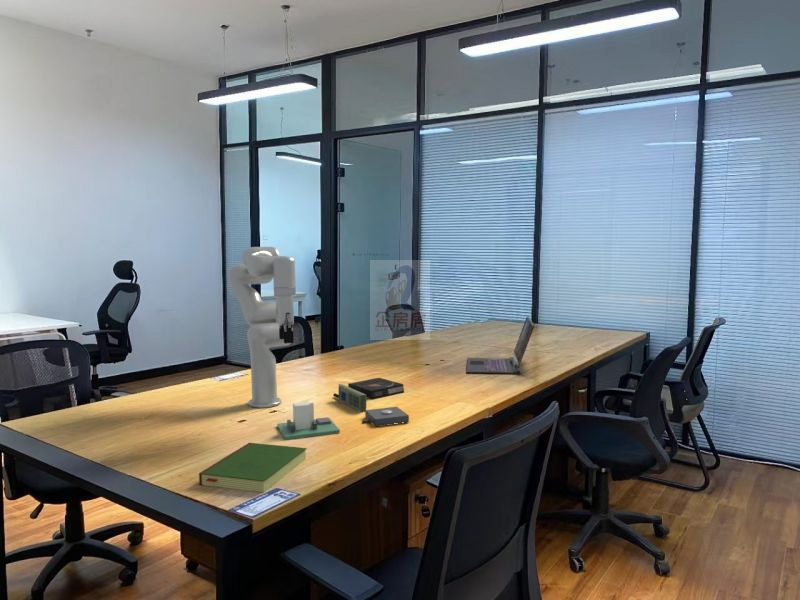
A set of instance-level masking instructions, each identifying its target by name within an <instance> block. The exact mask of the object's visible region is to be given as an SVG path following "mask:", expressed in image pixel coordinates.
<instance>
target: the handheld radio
mask: <svg viewBox="0 0 800 600" xmlns="http://www.w3.org/2000/svg"><path fill="white" fill-rule="evenodd" d="M333 397H334V398H337V400H338V402H340V403H342V404H344V405H346V406H348V407H350V408H352V409H354V410H356V411H358V412H360V413H363V411H364V412H365V410H367V398H366V394H363V393H361V392H359V391H357V390H354V389H352V388H350V387H348V385H345V384H342V383H339V384H338V394H337V393H333Z"/></svg>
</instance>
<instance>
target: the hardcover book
mask: <svg viewBox="0 0 800 600" xmlns="http://www.w3.org/2000/svg"><path fill="white" fill-rule="evenodd" d="M306 450H307V447H300V446H299V447H298V446H290V445H289V446H288V445H287V446H286V445H279V444H278V445H277V444H268V443H267V444H266V443H256V442H248V443H247V444H245V445H243V446H242V447H240V448H238V449H236V450H234V451H233V452H232V453H229V454H228V455H226V456H225V457H224V458H222V459H219V461H217V462H215V463H214V464H212V465H210V466H208V467H206V468H205V469H203V470H202V471H200V472H199V473H198V476H199V477H198V479H199V481H198V482H199V483H198V484H199V486H208V487H214V488H223V489H230V490H232V489H233V490H240V491H249V492H254V493H255V492H256V493H265V492H266V491H268V490H269V489H271V488H272V487H273V486H274V485H275V484H276V483H278V482H280V480H282V479H283V478H284V477H285V476H286V475H288V474H289V473H290V472H292V471H293V470H294V469H296V468H297V467H298V466H299V465H300V464H302V463H303V462H304V461H306V459H307V458H306V457H307V456H306V455H307V454H306Z"/></svg>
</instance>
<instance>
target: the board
mask: <svg viewBox="0 0 800 600" xmlns="http://www.w3.org/2000/svg"><path fill="white" fill-rule="evenodd" d="M277 429H278V430H279V432H280V433H281V435H282V438H283V439H284V441H288V440H293V439H294V440H295V439H302V438H304V439H305V438H310V437H311V438H312V437H317V436H327V435H333V434H334V433H335V434H340V433H341V430H340V428H339V427H338V426H337V425H336V424H335V423H334V421H333V420H331V418H329V417H327V416H325V417H318V418H314V421H312V427H311V428H309V429H300V430H295V428H294V425H293V421H292V420H291V419H287V420H286V422H281V423H280V422H279V423H277ZM335 434H334V435H335Z"/></svg>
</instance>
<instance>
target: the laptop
mask: <svg viewBox="0 0 800 600" xmlns="http://www.w3.org/2000/svg"><path fill="white" fill-rule="evenodd" d="M534 328H535V323H534V322H533V321H532V320H531V318H530V317H529V316H526V318H525V321H524V322H523V326H522V329H521V331H520V333H519V337H518V340H517V342H516V345H515V347H514V351H513V353H512V356H509V358H505V357H501V358H499V357H467V360H466V361H467V364H466V374H477V375H478V374H479V375H481V374H482V375H514V376H515V375H517V376H518V375H521V374H522V369H521V368H520V365H521V363H522V361H523V358H524V356H525V352H526V349H527V347H528V344H529V341H530V340H531V336H532V334H533V331H534Z"/></svg>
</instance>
